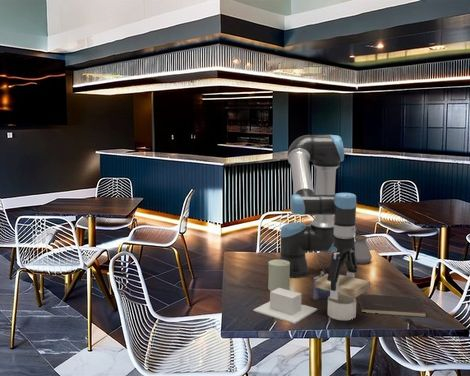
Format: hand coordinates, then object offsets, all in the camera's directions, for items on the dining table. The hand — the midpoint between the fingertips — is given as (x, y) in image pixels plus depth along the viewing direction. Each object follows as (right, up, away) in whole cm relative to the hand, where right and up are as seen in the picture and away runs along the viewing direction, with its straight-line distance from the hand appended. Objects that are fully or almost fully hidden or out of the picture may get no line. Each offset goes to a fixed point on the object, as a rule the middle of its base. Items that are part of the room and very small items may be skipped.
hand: (342, 293), depth 172 cm
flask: (-4, -6, +18) cm, 20 cm away
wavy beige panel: (0, +2, 0) cm, 2 cm away
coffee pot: (+19, +1, +67) cm, 70 cm away
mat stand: (-20, -7, +5) cm, 22 cm away
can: (-21, -4, +28) cm, 35 cm away
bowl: (0, -8, +1) cm, 8 cm away
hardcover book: (+21, -8, +9) cm, 24 cm away
